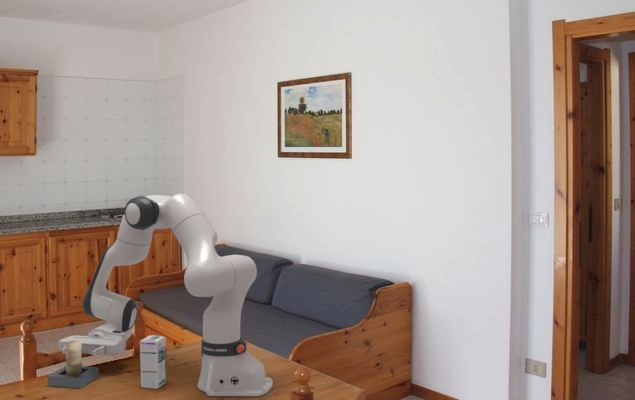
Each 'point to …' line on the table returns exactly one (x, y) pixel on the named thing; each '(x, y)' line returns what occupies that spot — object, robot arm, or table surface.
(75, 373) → the peg
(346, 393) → the table surface
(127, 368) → the table surface
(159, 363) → the syrup box
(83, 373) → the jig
